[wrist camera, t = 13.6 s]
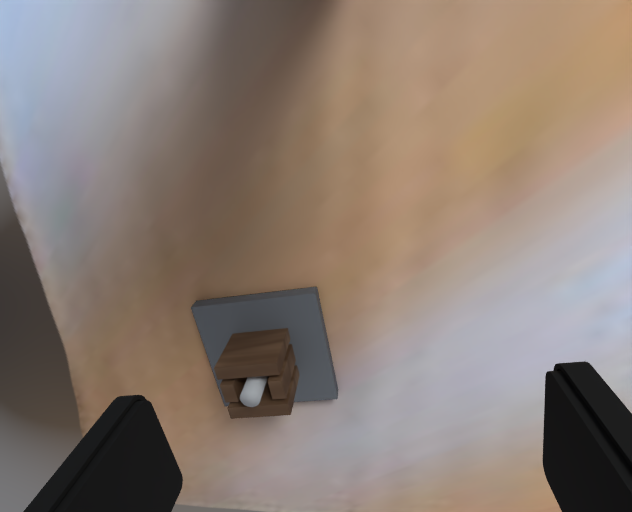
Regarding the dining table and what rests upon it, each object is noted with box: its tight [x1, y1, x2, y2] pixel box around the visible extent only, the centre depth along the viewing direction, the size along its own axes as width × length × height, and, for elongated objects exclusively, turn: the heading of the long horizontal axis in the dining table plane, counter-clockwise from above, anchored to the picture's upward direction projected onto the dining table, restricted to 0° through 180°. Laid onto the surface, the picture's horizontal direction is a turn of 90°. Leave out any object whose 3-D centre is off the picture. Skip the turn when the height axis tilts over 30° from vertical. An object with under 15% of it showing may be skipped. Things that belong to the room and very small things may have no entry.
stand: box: [191, 287, 338, 407], centre depth 42 cm, size 14×14×8 cm
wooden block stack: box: [214, 328, 300, 418], centre depth 42 cm, size 6×6×6 cm
